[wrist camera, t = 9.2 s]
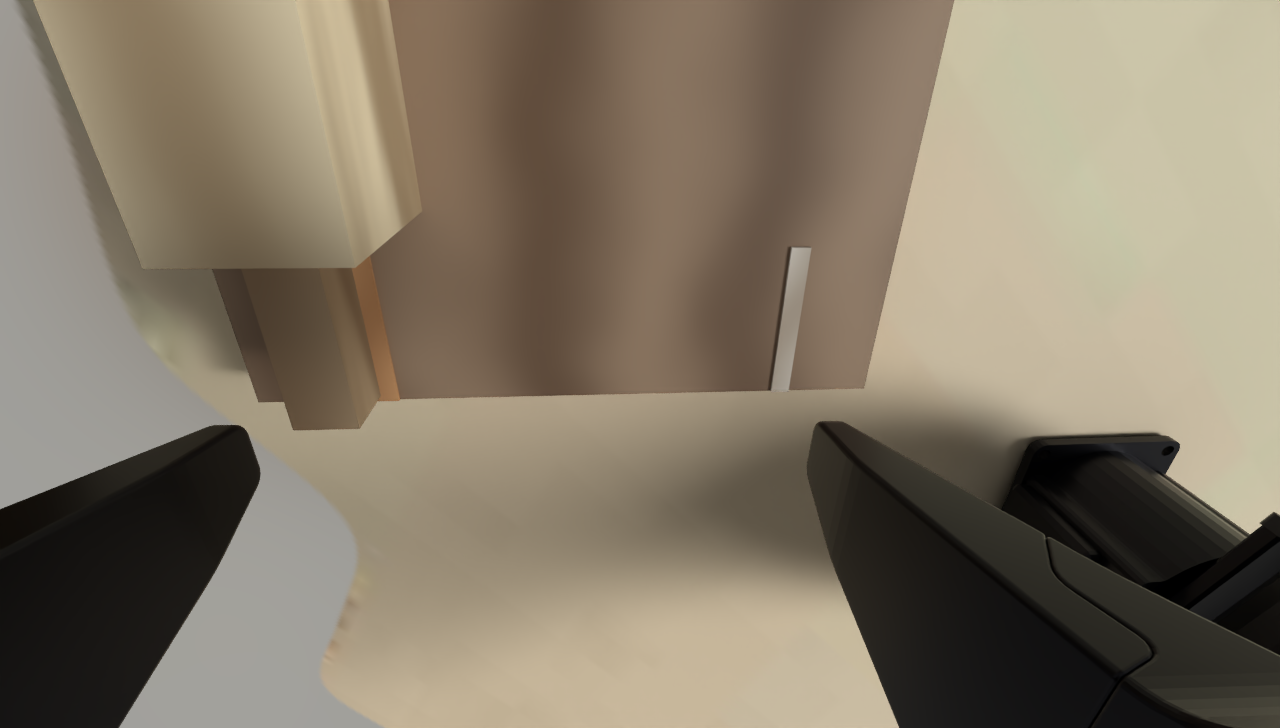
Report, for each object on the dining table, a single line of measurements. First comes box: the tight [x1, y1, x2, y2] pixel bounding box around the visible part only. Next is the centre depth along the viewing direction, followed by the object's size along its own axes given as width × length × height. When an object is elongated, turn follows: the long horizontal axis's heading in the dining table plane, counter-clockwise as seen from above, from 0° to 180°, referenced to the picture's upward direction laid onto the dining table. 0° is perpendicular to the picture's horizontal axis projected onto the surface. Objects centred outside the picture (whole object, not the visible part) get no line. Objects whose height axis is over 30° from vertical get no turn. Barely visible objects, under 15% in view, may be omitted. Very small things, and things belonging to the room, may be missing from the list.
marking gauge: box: [33, 0, 422, 430], centre depth 13 cm, size 4×12×6 cm, turn 179°
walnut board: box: [212, 0, 954, 402], centre depth 17 cm, size 20×12×2 cm, turn 89°
